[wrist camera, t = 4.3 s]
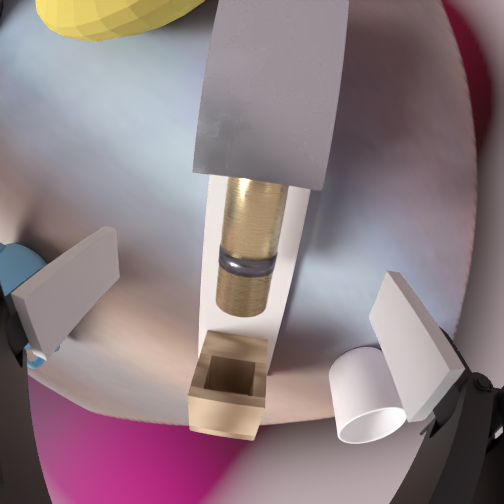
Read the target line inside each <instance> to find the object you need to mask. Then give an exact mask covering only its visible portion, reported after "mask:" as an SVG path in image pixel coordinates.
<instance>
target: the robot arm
mask: <svg viewBox="0 0 504 504" xmlns="http://www.w3.org/2000/svg"><path fill="white" fill-rule="evenodd" d="M1 11H2V0H0V15H1ZM119 278H120V274H119V263H118V249H117V230H116V228H113V227H106V226H103V227H102V228H100V229H99V230H97V231H96V232H94V233H93V234H91V235H89V236H88V237H86V238H85V239H83V240H82V241H80V242H79V243H77V244H76V245H75V246H73V247H72V248H70V249H69V250H67V251H66V252H64V253H63V254H62V255H60V256H59V257H57V258H56V259H55V260H53V261H52V262H51V263H49V264H48V265H46V266H45V267H43V268H41V269H39V270H38V271H36V272H35V273H34V274H32V276H30V277H29V278H27V279H26V281H23V282H22V283H21V284H20V285H18V286H17V287H16V288H15V289H13V290H12V291H11V292H10V293H9V294H7V295H6V296H5V295H4V292H3V289H2V286H1V282H0V504H52V502H51V499H50V496H49V493H48V489H47V487H46V483H45V480H44V477H43V472H42V469H41V465H40V461H39V456H38V453H37V448H36V442H35V437H34V431H33V425H32V419H31V412H30V411H31V410H30V402H29V391H28V376H27V375H28V374H27V353H26V350H25V348H24V347H25V346H26V345H27V344H28V343H29V344H30V347H31V349H32V351H33V353H34V354H35V355H37V356H39V357H40V358H42V359H44V360H46V361H47V360H48V359H49V358H50V356H51V355H52V354H53V353H54V351H55V350H56V349H57V348H58V347H59V345H60V344H61V343H62V342H63V340H64V339H65V338H66V337H67V336H68V334H69V333H70V332H71V331H72V330H73V329H74V327H75V326H76V325H77V324H78V323H79V322H80V320H81V319H82V318H83V317H84V316H85V315H86V314H87V312H88V311H89V310H90V309H91V308H92V307H93V306H94V305H95V304H96V302H97V301H98V300H99V299H100V298H101V297H102V296H103V295H104V294H105V293H106V292H107V290H108V289H109V288H110V287H111V286H112V285H113V284H114V283H115V282H116V281H117V280H118V279H119ZM368 318H369V320H370V322H371V325H372V327H373V329H374V332H375V334H376V336H377V339H378V341H379V344H380V346H381V349H382V351H383V354H384V356H385V359H386V361H387V364H388V367H389V369H390V372H391V374H392V377H393V380H394V383H395V385H396V388H397V391H398V394H399V397H400V399H401V402H402V405H403V408H404V411H405V414H406V417H407V420H408V422H415V421H422V420H424V419H425V418H426V417H427V416H428V415H429V414H430V413H431V412H432V411H434V414H435V418H434V419H433V420H432V421H431V422H430V423H429V424H428V425H427V426H426V427H425V428H424V429H423V430H422V432H421V433H420V435H422V434H423V433H424V432H426V431H427V432H426V435H425V437H424V440H423V442H422V444H421V446H420V448H419V451H418V453H417V455H416V457H415V459H414V461H413V463H412V465H411V467H410V469H409V471H408V473H407V475H406V477H405V478H404V480H403V482H402V484H401V485H400V487H399V489H398V490H397V492H396V494H395V496H394V497H393V499H392V501H391V502H390V504H504V386H503V387H502V388H501V389H499V388H494V387H493V385H492V383H491V381H490V380H489V379H488V378H487V377H486V376H484V375H483V374H480V373H478V372H473V373H472V372H471V370H470V369H469V367H468V365H467V364H466V362H465V360H464V359H463V357H462V355H461V354H460V352H459V351H457V348H456V346H455V344H453V341H452V340H451V338H450V337H449V335H448V334H447V333H446V332H445V331H444V330H442V329H441V328H440V327H439V326H438V325H437V323H436V322H435V320H434V319H433V317H432V316H431V315H430V313H429V312H428V310H427V309H426V308H425V306H424V305H423V303H422V302H421V301H420V299H419V298H418V296H417V295H416V294H415V292H414V291H413V290H412V288H411V287H410V286H409V284H408V283H407V282H406V280H405V279H404V278H403V277H402V275H401V274H400V273H398V272H392V271H386V273H385V276H384V279H383V282H382V284H381V287H380V290H379V292H378V295H377V297H376V300H375V303H374V305H373V307H372V310H371V312H370V315H369V317H368ZM502 426H503V433H502V434H501V435H500V436H499V437H498V438H496V439H495V433H496V432H497V431H498V430H499V429H500V428H501V427H502Z"/></svg>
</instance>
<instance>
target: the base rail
mask: <svg viewBox="0 0 504 504" xmlns="http://www.w3.org/2000/svg"><path fill="white" fill-rule="evenodd" d="M227 181H228V177H227V176H219V175H211V174H210V177H209V186H208V197H207V208H206V219H205V232H204V245H203V259H202V276H201V295H200V318H199V352H198V359H199V356H200V353H201V350H202V346H203V343H204V340H205V337H206V333H207V330H211V331H216V332H222V333H228V334H234V335H240V336H247V337H254V338H261V339H268V350H267V374H268V370H269V367H270V363H271V359H272V356H273V352H274V348H275V344H276V341H277V337H278V333H279V329H280V325H281V321H282V317H283V313H284V309H285V305H286V301H287V297H288V293H289V288H290V284H291V280H292V276H293V271H294V267H295V263H296V258H297V254H298V249H299V245H300V240H301V235H302V231H303V226H304V221H305V216H306V211H307V206H308V201H309V196H310V191H311V190H310V189H305V188H299V187H294V186H289V189H288V195H287V201H286V206H285V212H284V217H283V223H282V228H281V234H280V239H279V244H278V250H277V252H278V253H277V259H276V264H275V269H274V271H273V276H272V281H271V286H270V291H269V296H268V301H267V306H266V309H265V310H264V312H263V313H261V314H259V315H257V316H254V317H246V318H245V317H236V316H232V315H229V314H227V313H225V312H223V311H222V310H221V309H220V308H219V307H218V306H217V304H216V288H217V277H218V266H219V263H218V258H219V248H220V243H221V235H222V225H223V216H224V207H225V198H226V189H227ZM267 374H266V377H267Z"/></svg>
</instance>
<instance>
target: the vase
mask: <svg viewBox="0 0 504 504" xmlns="http://www.w3.org/2000/svg"><path fill="white" fill-rule="evenodd" d="M204 1H205V0H36V9H37V13H38V14H39V16H40V17H41V19H42V20H43V22H44V23H45V24H46V25H47V26H48V28H49V29H50V30H52V31H54V32H56V33H58V34H60V35H63V36H65V37H69V38H73V39H76V40H84V41H103V40H108V39H113V38H119V37H124V36H131V35H138V34H142V33H145V32H147V31H150V30H153V29H157V28H160V27H162V26H164V25H166V24H168V23H170V22H172V21H174V20H176V19H178V18H180V17H182V16H184V15H185V14H187V13H188V12H190V11H191V10H192V9H194V8H195V7H197V6H198V5H200V4H201V3H203V2H204Z"/></svg>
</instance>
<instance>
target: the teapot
mask: <svg viewBox="0 0 504 504" xmlns="http://www.w3.org/2000/svg"><path fill="white" fill-rule="evenodd" d="M46 265H48V264H47V263H46V262H45V261H44V260H43V259H42V258H41V257H40V256H39V255H38V254H37V253H36V252H34V251H33V250H31V249H29V248H27V247H25V246H22V245H19V244H15V243H12V244H6V245H4V244H2V243H0V282H1V286H2V289H3V292H4V295H5V296H6V295H7V294H9V293H10V292H11V291H12V290H13V289H15V288H16V287H17V286H18V285H20V284H21V283H22V282H23V281H26V279H27V278H29V277H30V276H32V274H34V273H35V272H36V271H38V270H39V269H41V268H43V267H45V266H46ZM24 348H25V350H27V349H31V347H30V344H29V343H28V344H27V345H26V346H25V347H24ZM59 348H60V345H59V347H58V348H57V349H56V350H55V351H54V352H56V351H58V350H59ZM44 361H45V360H44V359H42V358H40V357H39V356H37V358H36V359H35V361H34V362H30V361H29V360H28V359H27V367H29V368H34V369H35V368H39V367H40V366H41V365H42V364H43V362H44Z"/></svg>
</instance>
